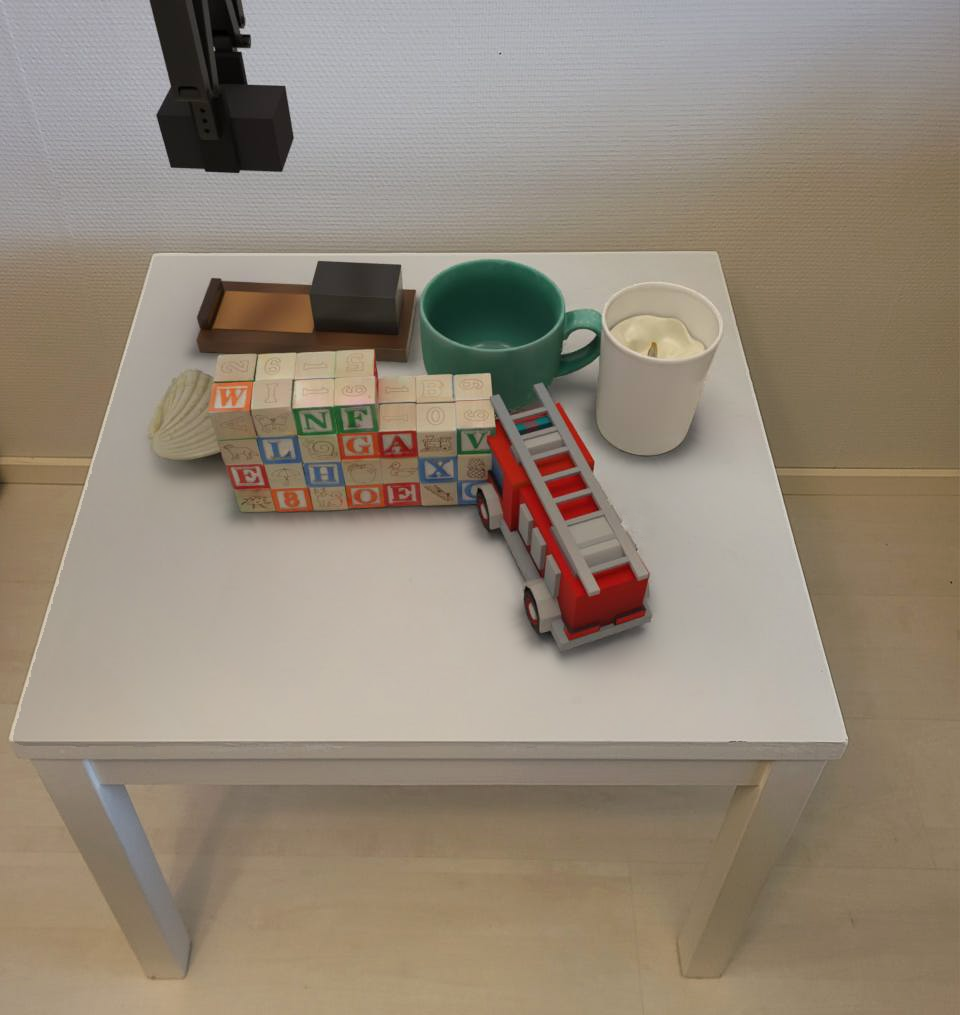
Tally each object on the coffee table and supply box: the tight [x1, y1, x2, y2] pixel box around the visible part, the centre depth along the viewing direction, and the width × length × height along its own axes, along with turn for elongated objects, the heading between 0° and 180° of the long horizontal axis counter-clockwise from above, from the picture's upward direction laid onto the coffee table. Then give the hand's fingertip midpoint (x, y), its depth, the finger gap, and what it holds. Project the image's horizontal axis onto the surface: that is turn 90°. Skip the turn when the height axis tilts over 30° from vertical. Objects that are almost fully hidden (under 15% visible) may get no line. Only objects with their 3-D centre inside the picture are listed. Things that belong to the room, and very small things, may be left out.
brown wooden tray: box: [196, 260, 417, 363], centre depth 92 cm, size 20×9×6 cm, turn 87°
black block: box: [155, 84, 295, 173], centre depth 76 cm, size 9×5×4 cm, turn 86°
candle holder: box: [595, 281, 725, 456], centre depth 82 cm, size 10×10×12 cm
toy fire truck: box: [476, 383, 653, 652], centre depth 74 cm, size 9×19×10 cm, turn 21°
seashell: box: [148, 368, 221, 461], centre depth 83 cm, size 8×8×8 cm
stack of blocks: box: [209, 349, 496, 513], centre depth 77 cm, size 21×6×12 cm, turn 93°
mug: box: [418, 258, 602, 413], centre depth 86 cm, size 17×13×10 cm
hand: (231, 149), depth 78 cm, fingers closed on black block, 5 cm apart
